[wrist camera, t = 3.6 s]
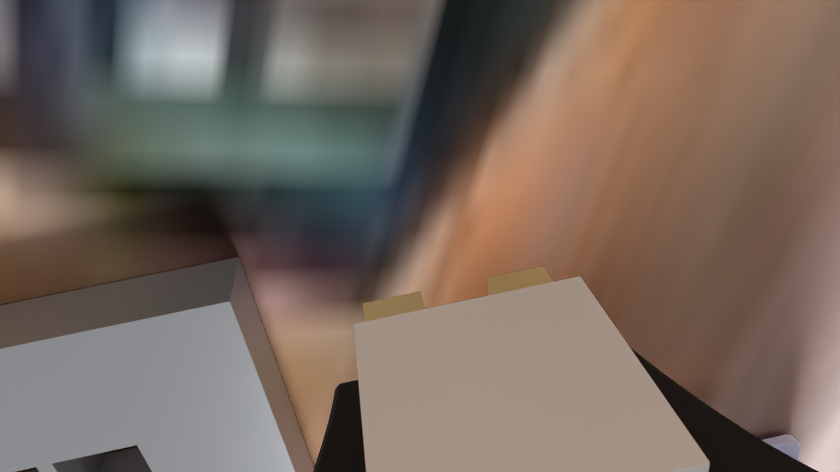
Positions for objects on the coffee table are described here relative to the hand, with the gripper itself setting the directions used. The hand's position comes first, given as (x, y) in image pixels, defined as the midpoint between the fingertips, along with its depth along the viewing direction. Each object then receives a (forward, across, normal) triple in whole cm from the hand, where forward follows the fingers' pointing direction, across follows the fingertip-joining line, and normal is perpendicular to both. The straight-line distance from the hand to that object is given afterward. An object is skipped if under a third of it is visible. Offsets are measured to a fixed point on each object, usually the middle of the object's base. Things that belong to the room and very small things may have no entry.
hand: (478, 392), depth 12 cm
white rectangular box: (+2, 0, 0) cm, 2 cm away
